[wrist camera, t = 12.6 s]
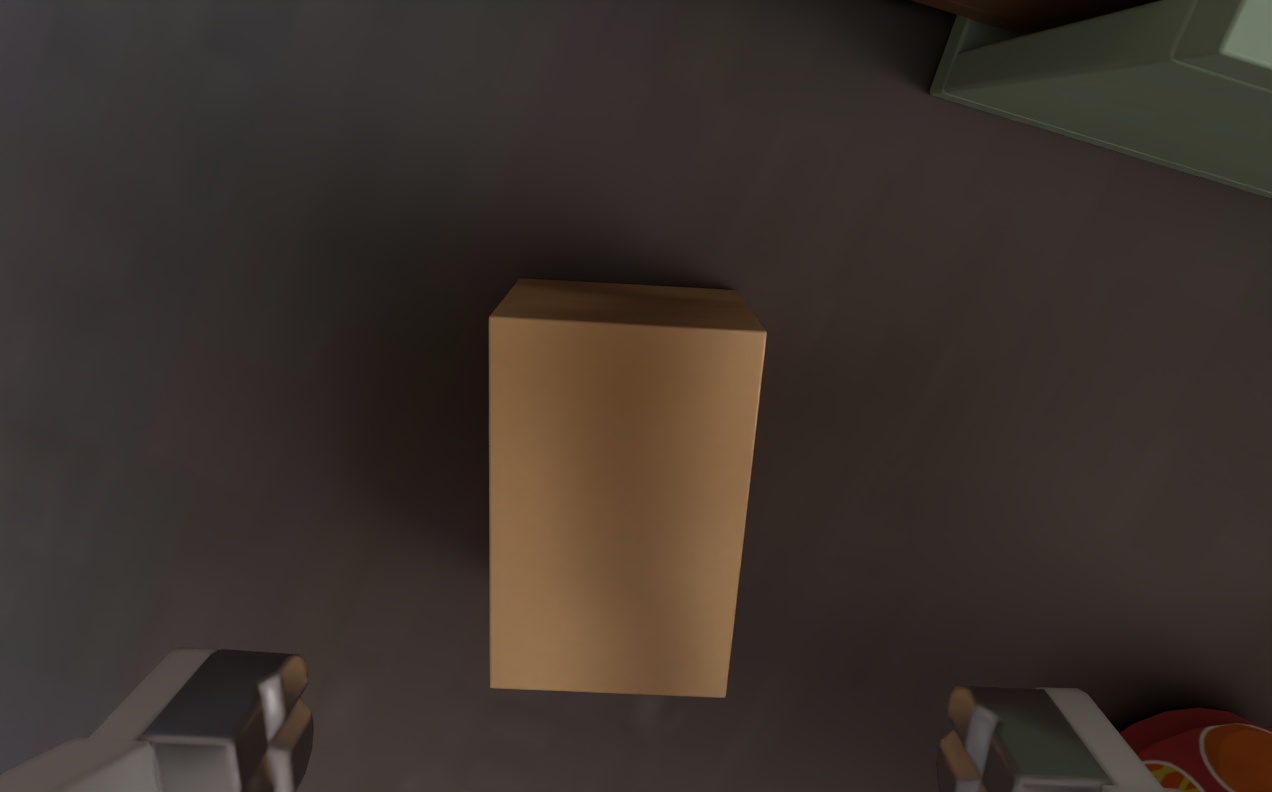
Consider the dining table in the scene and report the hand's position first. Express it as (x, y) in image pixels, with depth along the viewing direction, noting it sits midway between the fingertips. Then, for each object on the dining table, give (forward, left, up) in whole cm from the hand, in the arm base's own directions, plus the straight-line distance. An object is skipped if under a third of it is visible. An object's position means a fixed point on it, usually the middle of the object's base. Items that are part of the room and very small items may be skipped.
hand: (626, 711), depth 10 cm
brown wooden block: (0, 0, -10) cm, 10 cm away
